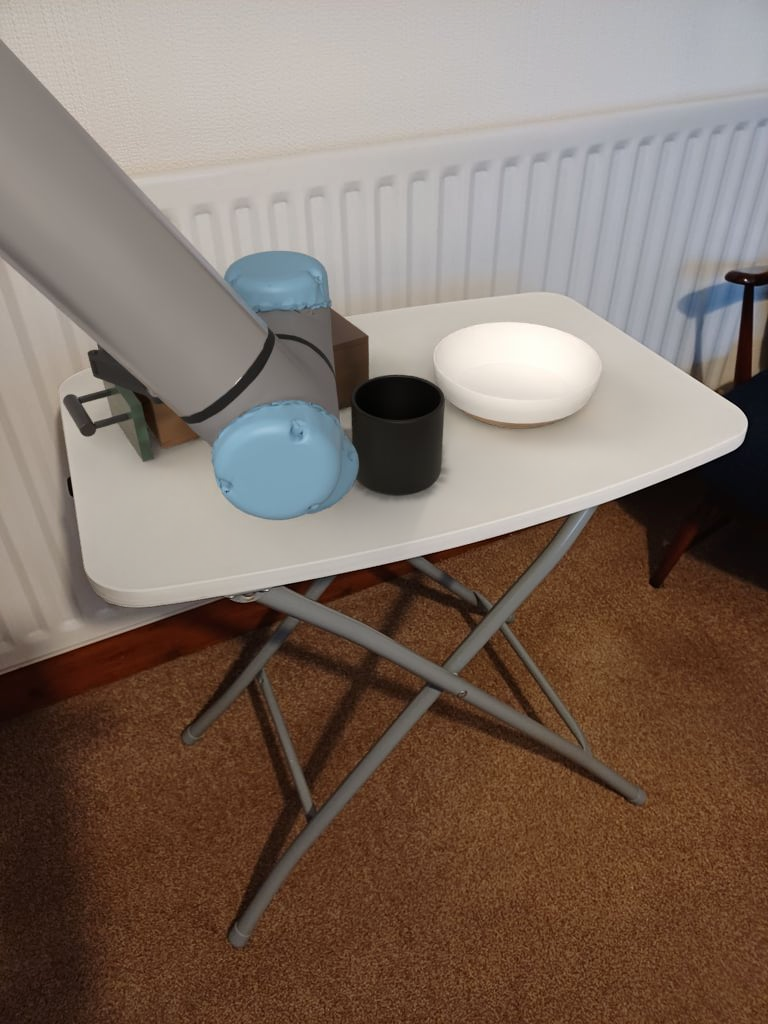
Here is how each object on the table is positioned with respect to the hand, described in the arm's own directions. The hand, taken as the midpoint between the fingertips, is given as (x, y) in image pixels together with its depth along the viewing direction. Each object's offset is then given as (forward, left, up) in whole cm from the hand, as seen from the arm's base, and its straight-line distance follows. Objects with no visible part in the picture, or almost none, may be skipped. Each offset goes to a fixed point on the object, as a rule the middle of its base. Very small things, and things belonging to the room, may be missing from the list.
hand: (163, 312), depth 85 cm
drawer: (-3, -3, -12) cm, 12 cm away
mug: (+16, -23, -13) cm, 31 cm away
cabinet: (+12, -3, -13) cm, 18 cm away
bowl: (+34, -19, -13) cm, 42 cm away
